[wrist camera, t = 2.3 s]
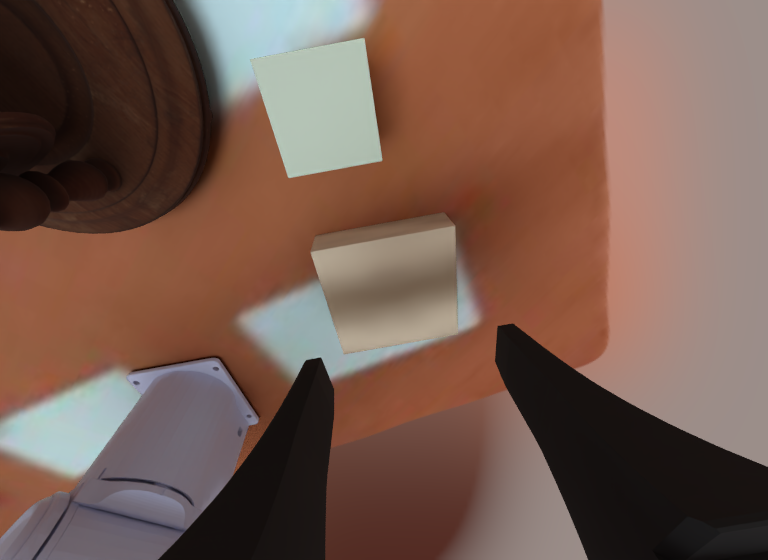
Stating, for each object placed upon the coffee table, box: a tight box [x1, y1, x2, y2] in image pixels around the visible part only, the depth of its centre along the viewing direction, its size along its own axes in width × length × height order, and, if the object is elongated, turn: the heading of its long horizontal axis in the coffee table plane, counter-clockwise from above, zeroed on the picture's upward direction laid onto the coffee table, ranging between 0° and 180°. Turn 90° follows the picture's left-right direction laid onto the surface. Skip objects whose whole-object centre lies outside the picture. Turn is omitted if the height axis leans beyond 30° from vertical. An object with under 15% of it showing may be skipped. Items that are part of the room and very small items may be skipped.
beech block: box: [311, 212, 458, 354], centre depth 21 cm, size 9×9×3 cm
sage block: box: [250, 38, 382, 178], centre depth 13 cm, size 4×4×6 cm
